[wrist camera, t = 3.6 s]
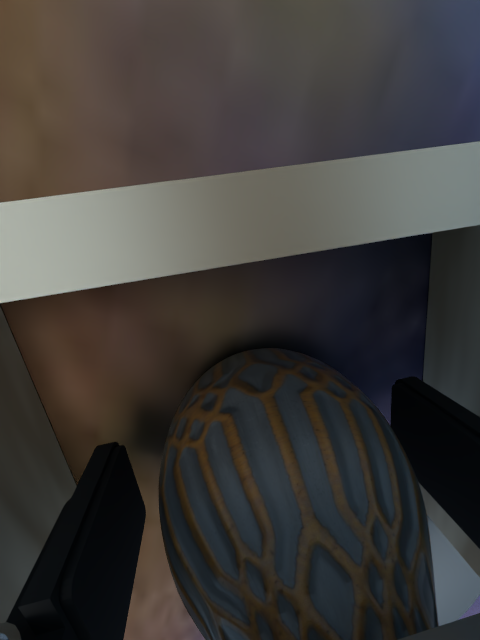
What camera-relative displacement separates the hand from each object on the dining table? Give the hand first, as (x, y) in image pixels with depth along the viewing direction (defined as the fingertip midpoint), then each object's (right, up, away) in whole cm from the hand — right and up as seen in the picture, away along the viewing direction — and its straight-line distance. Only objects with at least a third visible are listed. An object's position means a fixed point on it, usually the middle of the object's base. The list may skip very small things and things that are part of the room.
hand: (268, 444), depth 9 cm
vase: (0, +1, +3) cm, 3 cm away
